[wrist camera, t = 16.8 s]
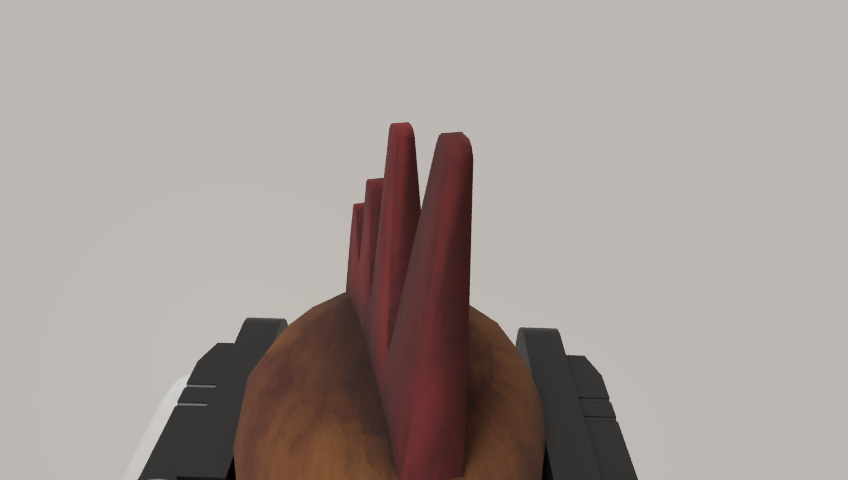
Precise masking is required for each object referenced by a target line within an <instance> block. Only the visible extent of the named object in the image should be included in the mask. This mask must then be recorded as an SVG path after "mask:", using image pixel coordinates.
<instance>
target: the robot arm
mask: <svg viewBox="0 0 848 480" xmlns="http://www.w3.org/2000/svg"><path fill="white" fill-rule="evenodd" d="M287 326H288V325H287V321H286V320H285V319H275V318H247V319H246V320H245V321H244V323H243V325H242V328H241V330H240V332H239V334H238V336H237V339H236V341H235V343H217V344H216V345H215V346H214V347H213V348H212V349H211V350H210V351H208V353H206V354H205V355H204V356H203V357H202V358H201V359H200V360H199V361H198V362H197V364H196V366H195V368H194V370H193V372H192V374H191V376H190V378H189V380H188V382H187V387H186V388H184V390H183V392H182V394H181V396H180V398H179V400H178V404H177V406H175V408H174V410H173V412H172V414H171V416H170V418H169V420H168V422H167V424H166V426H165V428H164V430H163V432H162V434H161V435H160V437H159V439H158V441H157V443H156V445H155V447H154V449H153V451H152V453H151V455H150V457H149V459H148V461H147V463H146V465H145V467H144V469H143V471H142V473H141V475H140V477H139V479H138V480H236V473H235V463H234V452H233V446H234V441H235V436H236V432H237V427H238V422H239V417H240V412H241V407H242V403H243V398H244V393H245V389H246V384H247V379H248V376H249V374H250V373H251V372H252V370H253V369H254V368H255V366H256V365H257V364H258V362H259V361H260V360H261V358H262V357H263V356H264V354H265V353H266V352H267V351H268V349H269V348H270V347H271V345H272V344H273V343H274V342H275V340H276V339H277V338H278V337H279V335H280V334H281V333H282V331H283V330H284V329H285V328H286V327H287ZM515 347H516V348H517V350H518V351H519V353H520V355H521V356H522V358H523V359H524V361H525V362H526V364H527V366H528V367H529V369H530V372H531V375H532V377H533V380H534V383H535V386H536V389H537V391H538V394H539V397H540V400H541V403H542V405H543V415H544V424H545V433H546V441H545V451H544V461H543V471H542V480H638V479H637V476H636V473H635V470H634V467H633V464H632V461H631V458H630V455H629V453H628V450H627V447H626V444H625V441H624V438H623V435H622V433H621V430H620V427H619V424H618V422H616V416H615V412H614V410H613V407H612V404H611V403H610V402H609V395H608V393H607V390H606V387H605V384H604V381H603V378H602V376H601V374H600V373H599V372H598V371H597V370H596V369H595V368H594V366H592V364H591V363H590V362H589V361H588V360H587V359H586V357H585V356H574V355H572V356H571V355H566V354H565V350H564V347H563V344H562V340H561V336H560V333H559V331H558V330H557V329H551V328H522V327H521V328H519V330H518V334H517V340H516V346H515Z"/></svg>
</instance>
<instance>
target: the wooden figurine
mask: <svg viewBox="0 0 848 480" xmlns="http://www.w3.org/2000/svg"><path fill="white" fill-rule="evenodd" d="M472 179H473V154H472V147H471V144H470V140H469V139H468V138H467V137H466V136H465V135H464V134H463V133H462V132H454V133H441V135H439V137H438V140H437V143H436V148H435V152H434V156H433V161H432V165H431V169H430V174H429V178H428V182H427V187H426V191H425V196H424V200H423V205H422V209H421V207H420V196H419V184H418V172H417V161H416V148H415V137H414V132H413V128H412V126H411V125H410V124H409V123H408V122H407V123H392V124H391V125H390V129H389V137H388V146H387V156H386V164H385V174H384V178H378V179H368V180H367V182H366V192H365V193H366V194H365V203H359V204H354V205H353V215H352V225H351V235H350V236H351V237H350V248H349V260H348V272H347V285H346V292H345V293H342V294H340V295H338V296H336V297H334V298H332V299H330V300H327V301H325V302H323V303H321V304H319V305H317V306H315V307H312V308H311V309H310V310H309V311H307V312H306V313H304V314H303V315H302V316H300V317H299V318H298V319H297V320H295V321H294V322H293V323H291V324H290V325H289V326H287V327H286V328H285V329H284V330H283V331H282V333H281V334H280V335H279V337H278V338H277V339H276V340H275V342H274V343H273V344H272V345H271V347H270V348H269V349H268V351H267V352H266V353H265V354H264V356H263V357H262V358H261V360H260V361H259V362H258V364H257V365H256V366H255V368H254V369H253V370H252V372H251V373H250V374H249V376H248V379H247V384H246V389H245V393H244V398H243V403H242V407H241V412H240V417H239V422H238V427H237V432H236V436H235V441H234V446H233V452H234V463H235V473H236V480H542V471H543V461H544V451H545V441H546V433H545V424H544V415H543V405H542V403H541V400H540V397H539V394H538V391H537V389H536V386H535V383H534V380H533V377H532V375H531V372H530V369H529V367H528V366H527V364H526V362H525V361H524V359H523V358H522V356H521V355H520V353H519V351H518V350H517V348H516V347H515V346H514V344H513V343H512V342H511V340H510V339H509V338H508V337H507V335H506V334H505V333H504V331H503V330H502V329H501V327H500V326H499V325H498V323H496V322H495V321H493V320H492V319H490V318H489V317H487V316H486V315H484V314H483V313H481V312H480V311H478V310H476V309H475V308H473V307H472V306H470V305H469V295H470V291H469V290H470V258H471V220H472V219H471V218H472V184H473V183H472V182H473V180H472Z"/></svg>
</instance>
